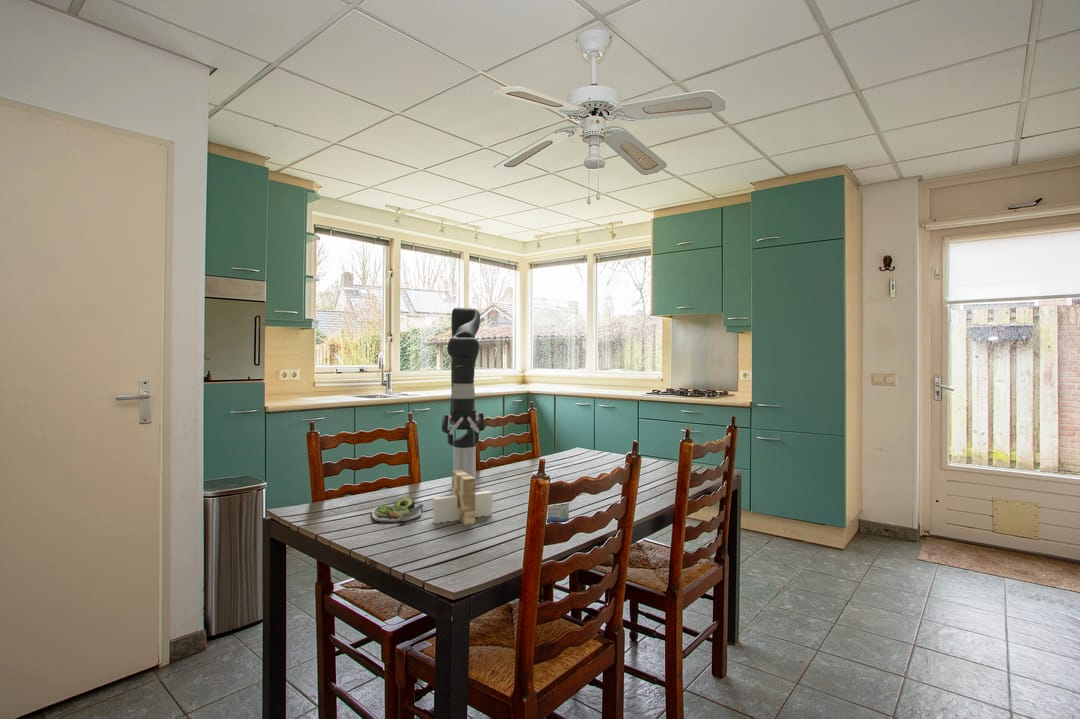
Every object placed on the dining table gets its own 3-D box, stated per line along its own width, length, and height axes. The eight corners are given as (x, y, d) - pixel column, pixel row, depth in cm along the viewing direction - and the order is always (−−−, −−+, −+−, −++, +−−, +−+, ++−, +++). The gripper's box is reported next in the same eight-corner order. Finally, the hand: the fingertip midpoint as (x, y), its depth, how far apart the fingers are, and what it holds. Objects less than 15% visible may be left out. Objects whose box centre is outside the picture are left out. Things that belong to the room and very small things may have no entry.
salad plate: (427, 523, 180) (427, 510, 180) (370, 528, 175) (370, 514, 175) (422, 507, 199) (422, 494, 198) (371, 510, 194) (371, 498, 193)
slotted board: (433, 521, 181) (433, 497, 181) (489, 513, 190) (489, 490, 190) (435, 523, 179) (435, 499, 179) (491, 515, 188) (491, 492, 188)
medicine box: (545, 522, 181) (546, 496, 181) (543, 518, 186) (543, 493, 185) (569, 521, 182) (569, 495, 182) (566, 517, 187) (566, 492, 187)
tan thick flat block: (451, 513, 190) (452, 470, 190) (461, 512, 192) (461, 469, 191) (465, 525, 178) (465, 479, 177) (475, 523, 179) (475, 478, 179)
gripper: (479, 394, 190) (479, 441, 191) (439, 396, 184) (439, 444, 184) (487, 396, 184) (486, 444, 184) (446, 398, 177) (446, 447, 178)
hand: (463, 444), depth 184 cm, fingers open, 8 cm apart
